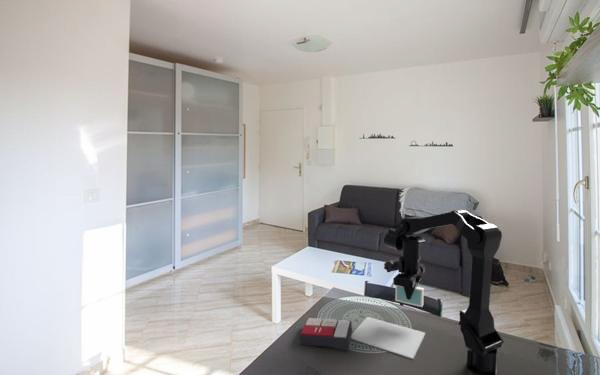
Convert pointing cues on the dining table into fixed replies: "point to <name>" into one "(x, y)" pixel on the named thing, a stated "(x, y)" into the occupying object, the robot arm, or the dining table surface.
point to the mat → (389, 337)
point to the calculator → (326, 333)
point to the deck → (415, 299)
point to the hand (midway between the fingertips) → (409, 298)
